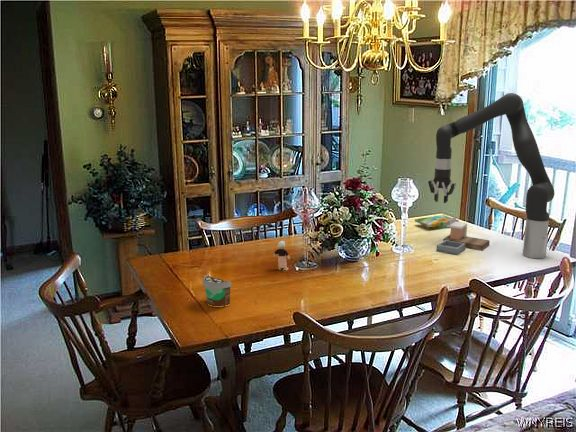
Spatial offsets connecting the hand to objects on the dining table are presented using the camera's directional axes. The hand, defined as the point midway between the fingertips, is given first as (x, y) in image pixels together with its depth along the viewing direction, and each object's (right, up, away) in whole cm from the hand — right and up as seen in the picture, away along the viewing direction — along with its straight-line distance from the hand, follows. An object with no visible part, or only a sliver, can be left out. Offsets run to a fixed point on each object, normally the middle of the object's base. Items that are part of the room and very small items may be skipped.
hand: (440, 202), depth 272 cm
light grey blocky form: (+7, -17, -1) cm, 19 cm away
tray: (+1, -23, -12) cm, 26 cm away
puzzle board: (+11, -21, -3) cm, 24 cm away
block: (+7, -20, 0) cm, 21 cm away
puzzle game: (+5, -13, +28) cm, 31 cm away
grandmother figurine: (-78, -30, -33) cm, 89 cm away
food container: (-102, -40, -69) cm, 129 cm away
